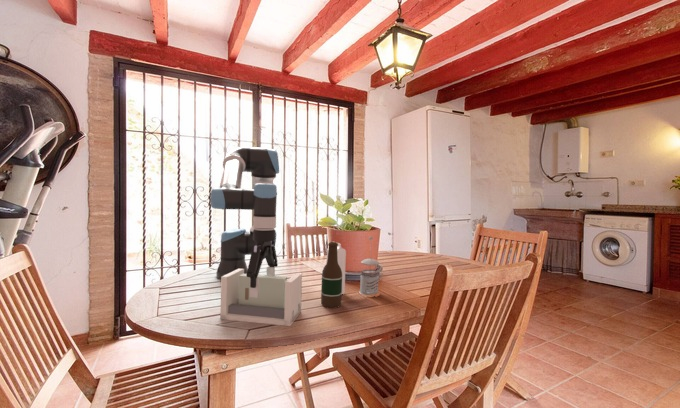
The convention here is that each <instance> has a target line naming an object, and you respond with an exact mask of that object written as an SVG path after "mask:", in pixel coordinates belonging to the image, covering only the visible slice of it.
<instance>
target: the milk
mask: <svg viewBox="0 0 680 408" xmlns="http://www.w3.org/2000/svg"><path fill="white" fill-rule="evenodd" d="M335 242H336V241H335ZM336 243H338V246H337V258H338V264H339V266H340V268H341V271H342V294H343V295H345V294H344V293H346V292H345V291H346V290H345V289H346V265H347V264H346V260H347V259H346V258H347V249H345V248H343V247H342V244H341V243H340V242H336ZM328 250H329V247H328V248H326V264H327V260H328ZM326 264H325V265H326Z"/></svg>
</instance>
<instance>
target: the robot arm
mask: <svg viewBox="0 0 680 408" xmlns="http://www.w3.org/2000/svg"><path fill="white" fill-rule="evenodd" d="M222 167H223V172H222V176H221V180H220V184H219V186H218V187H214V188H212V189H211V191H210V206H211V208H212V209H215V210H223V211H224V210H247V211H248V210H249V211H251V210H252V211H253V218H252V220H251V221H252V222H253V225H252V226H251V227H250V229H249V231H247V230H246V229H245V228H235V229H229V230H228V229H227V230H225V231H223V232H221V237H220V262H219V263H218V267H217V270H216V278H217V279H220V280H221V277H222V276H224V275H226V274H228V273H230V272H233V271H235V270H237V269H244V274H247V275H246V276H247V277H250V297H255V298H258V297H259V277H258V275H260V274H259V273H260V270H261V267H262V264H263V261H264V260H265V261H266V264H267V267H266V275H268V276H276V274H275V273H276V268H277V267H278V265H279V264H278V257H277V256H278V255H277V252H276V251H277V250H276V243H277V232H276V228H277V197H278V191H277V185H276V184H275V183H273V181H274V180H275V179H276V178H277V174H279V173H280V163H279V155H278V152H277V150H276V149H274V148H268V147H251V146H250V147H248V146H241V147H237V148H235V149H233V150H231V151H230V152H228V153H227V154H226V156H225V157H224V159H223V161H222ZM244 172H247V173H251V177H252V178H253V180H254V185H253V187H254V188H250V189H249V188H242V178H243V173H244ZM249 255H250V258H249V262H248V266H247V262H246V256H249Z"/></svg>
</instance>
